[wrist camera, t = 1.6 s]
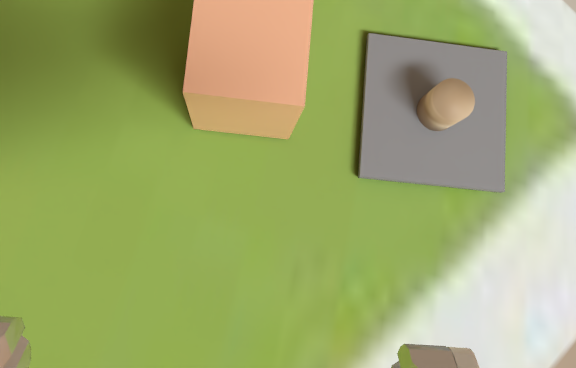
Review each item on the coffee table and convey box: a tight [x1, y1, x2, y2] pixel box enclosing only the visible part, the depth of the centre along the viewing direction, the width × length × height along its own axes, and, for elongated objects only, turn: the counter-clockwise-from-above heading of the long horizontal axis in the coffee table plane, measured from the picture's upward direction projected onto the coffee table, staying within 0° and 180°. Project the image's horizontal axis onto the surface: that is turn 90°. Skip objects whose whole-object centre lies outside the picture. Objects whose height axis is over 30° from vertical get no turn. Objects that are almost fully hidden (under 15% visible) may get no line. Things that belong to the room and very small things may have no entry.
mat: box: [358, 33, 507, 192], centre depth 37 cm, size 11×11×1 cm
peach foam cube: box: [183, 0, 313, 139], centre depth 32 cm, size 7×7×8 cm
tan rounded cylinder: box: [417, 78, 475, 131], centre depth 35 cm, size 3×3×3 cm
